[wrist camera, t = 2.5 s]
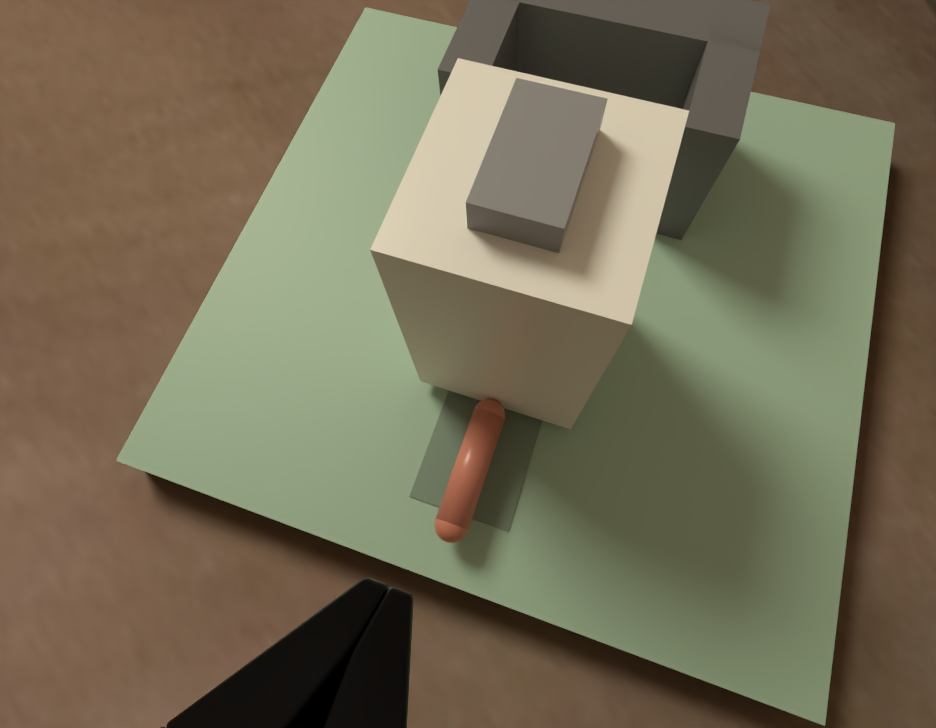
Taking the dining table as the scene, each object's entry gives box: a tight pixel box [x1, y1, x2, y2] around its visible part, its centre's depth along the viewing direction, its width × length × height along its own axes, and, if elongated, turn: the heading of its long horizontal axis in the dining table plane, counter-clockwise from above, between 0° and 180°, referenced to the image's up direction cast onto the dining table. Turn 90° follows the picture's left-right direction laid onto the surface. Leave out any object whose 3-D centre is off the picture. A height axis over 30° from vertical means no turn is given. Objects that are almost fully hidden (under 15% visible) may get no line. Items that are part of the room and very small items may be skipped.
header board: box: [116, 7, 895, 726], centre depth 20 cm, size 21×22×2 cm
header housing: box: [438, 0, 770, 240], centre depth 19 cm, size 5×9×5 cm, turn 71°
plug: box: [370, 58, 689, 543], centre depth 14 cm, size 9×5×9 cm, turn 161°
